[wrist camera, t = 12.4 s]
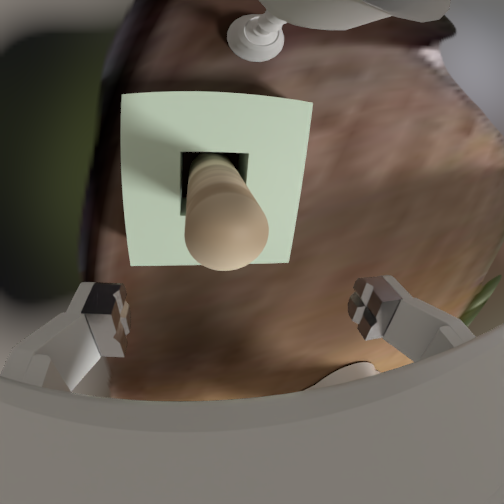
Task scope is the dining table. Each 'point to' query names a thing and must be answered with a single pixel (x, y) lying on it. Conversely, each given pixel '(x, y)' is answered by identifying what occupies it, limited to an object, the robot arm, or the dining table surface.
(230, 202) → the peg
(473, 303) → the dining table surface
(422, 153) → the dining table surface
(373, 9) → the chalice
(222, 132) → the socket block
